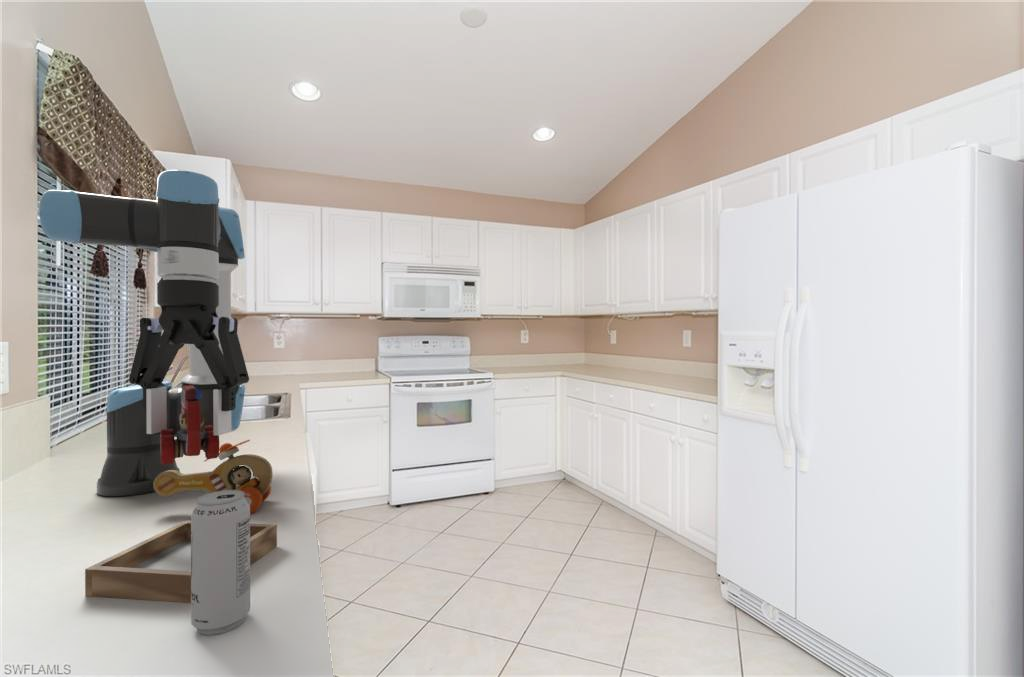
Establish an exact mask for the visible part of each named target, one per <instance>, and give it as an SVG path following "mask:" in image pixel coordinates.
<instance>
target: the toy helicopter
mask: <svg viewBox="0 0 1024 677" xmlns="http://www.w3.org/2000/svg"><path fill="white" fill-rule="evenodd" d="M250 441H251V439H247V440H243V441H241V442H239V443H236V444H234V445H233V444H231V443H229V442H226V443H223V444H222V445H220V446H219V456H218V457H217V458H219V460H220V461H222V462H221V463H220V464H219V465H217V467H216V468H214V469H213V470H212V471H205V472H204V471H203V472H194V473H181V471H180V472H179V471H176V470H168V471H165V472H162V473H160V474H159V475H158V476H157V477H156V478H155V480H154V483H153V487H154V490H155V491H154V492H155V493H156V494H157V495H159V496H161V497H171V496H174V495H175V494H177V493H179V492H181V491H184V492H185V491H207V492H208V493H212V492H217V491H224V490H240V491H243V492H244V498H245V499H246V500H247V502H248V503H249V505H250V514H253V513H254V512H256V511H257V510H258V509H259V508H260V507H261V505H262V503H263V502H264V501H266V500H267V498H268V497H269V496H270V494H271V492H272V486H271V484H272V480H273V476H274V475H273V467H272V465H271V463H270V461H268V460H267V459H266V458H264V457H263V456H260V455H257V454H251V453H249V454H239V455H236V456H234V454H237V453H238V452H240V449H239V447H238V446H241V445H243V444H246V443H247V442H248V443H249V442H250ZM226 458H228V459H226ZM225 459H226V460H225ZM208 460H210V459H207V458H205V460H203V462H206V461H208ZM223 460H224V461H223ZM252 476H253V478H252Z"/></svg>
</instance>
